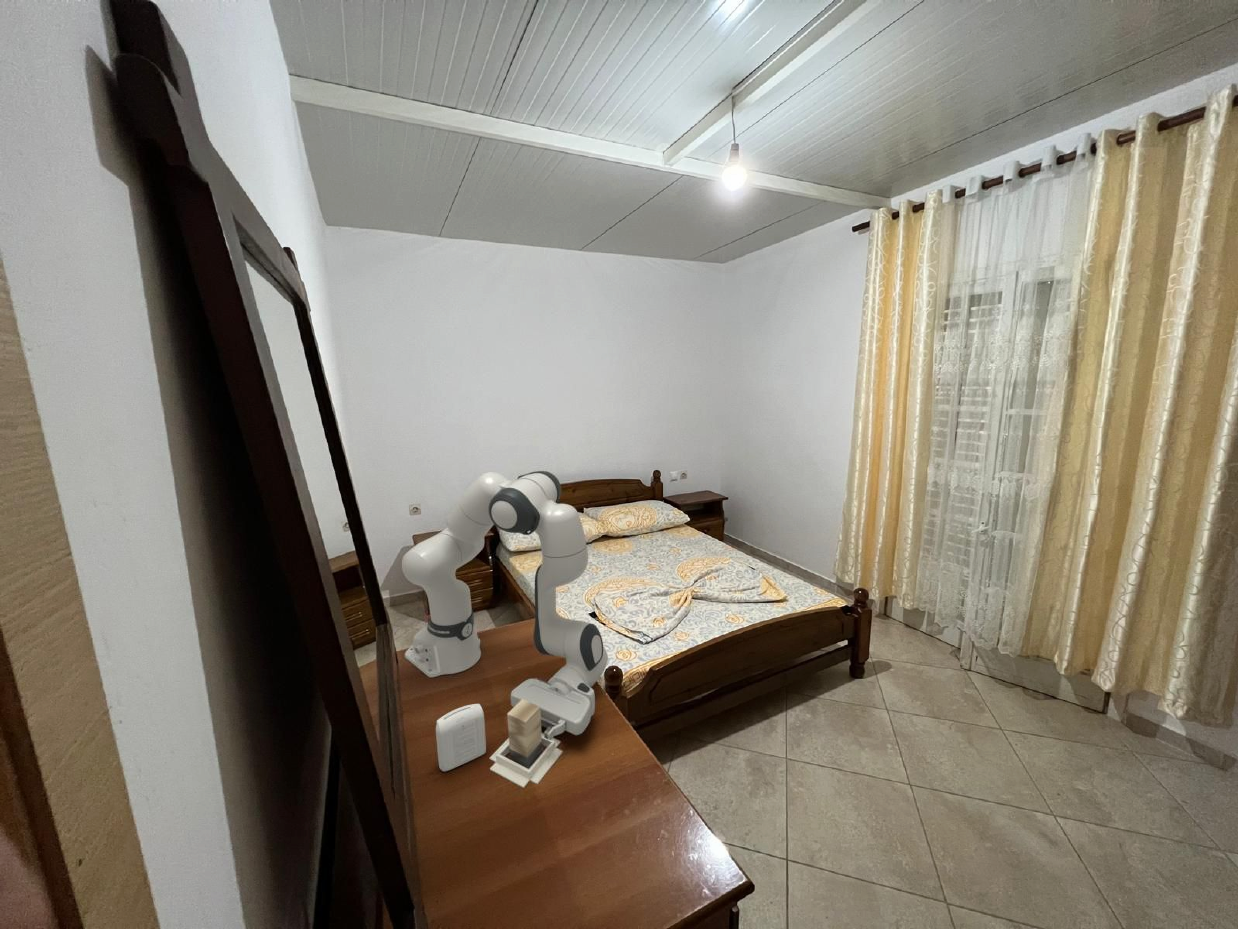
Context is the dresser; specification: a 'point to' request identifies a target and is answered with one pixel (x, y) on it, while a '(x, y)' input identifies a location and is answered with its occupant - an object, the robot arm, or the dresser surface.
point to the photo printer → (460, 736)
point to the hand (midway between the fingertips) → (529, 728)
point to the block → (525, 733)
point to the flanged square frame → (521, 773)
